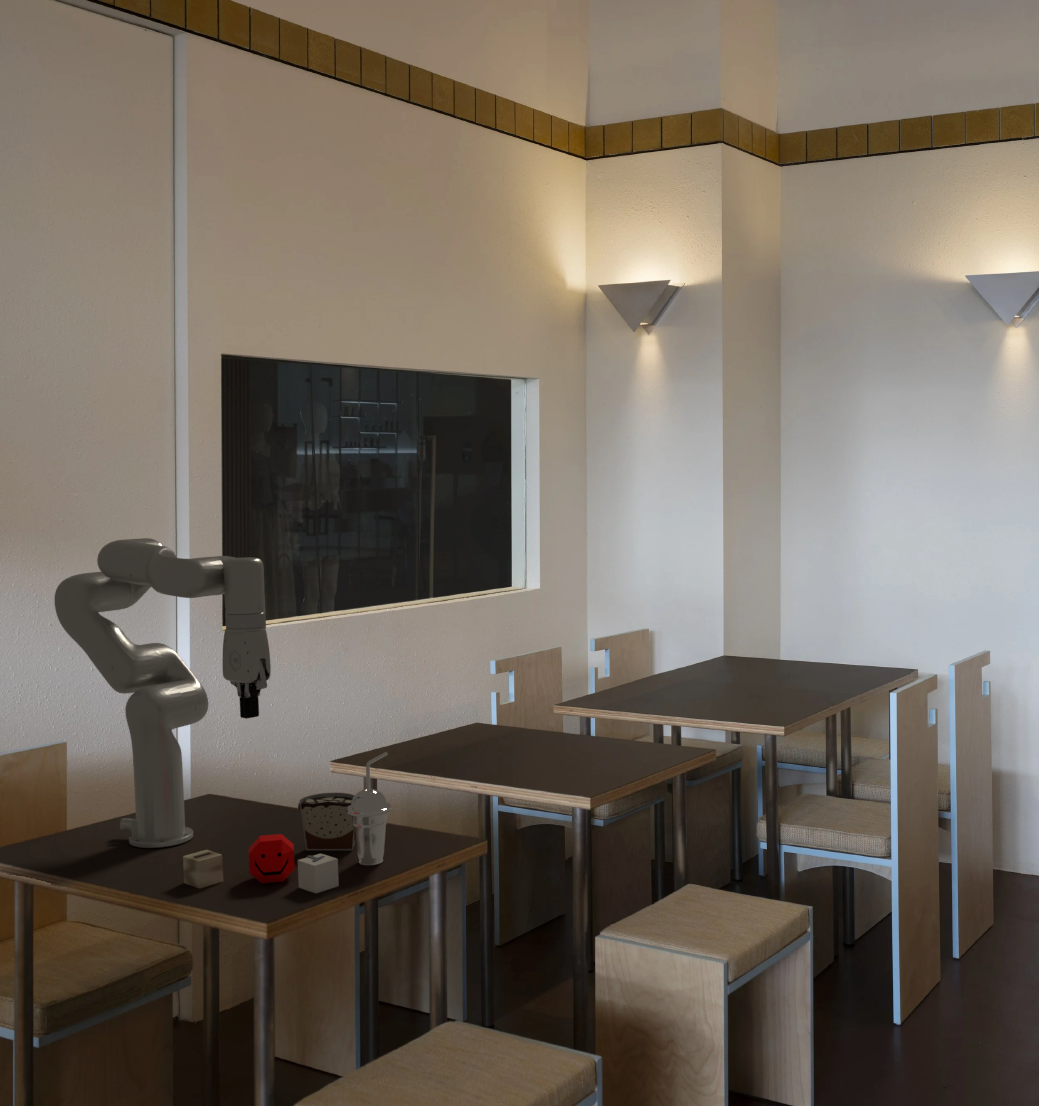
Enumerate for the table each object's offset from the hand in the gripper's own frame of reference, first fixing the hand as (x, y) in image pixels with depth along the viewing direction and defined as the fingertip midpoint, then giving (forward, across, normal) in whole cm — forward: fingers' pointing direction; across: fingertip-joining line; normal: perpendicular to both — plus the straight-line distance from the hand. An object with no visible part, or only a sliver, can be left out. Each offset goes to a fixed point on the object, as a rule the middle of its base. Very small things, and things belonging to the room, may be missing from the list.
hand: (249, 716), depth 234 cm
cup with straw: (+27, +21, +12) cm, 36 cm away
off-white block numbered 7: (+27, +25, -4) cm, 37 cm away
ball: (+27, +14, -6) cm, 32 cm away
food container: (+27, +7, +14) cm, 31 cm away
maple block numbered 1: (+27, +6, -15) cm, 32 cm away
